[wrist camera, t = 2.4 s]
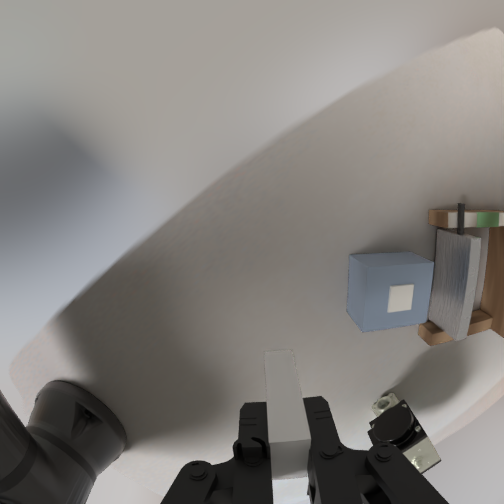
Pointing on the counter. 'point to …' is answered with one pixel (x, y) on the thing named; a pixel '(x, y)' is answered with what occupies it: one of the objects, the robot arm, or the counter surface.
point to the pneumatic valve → (402, 432)
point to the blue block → (388, 289)
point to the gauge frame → (496, 277)
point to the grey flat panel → (455, 279)
